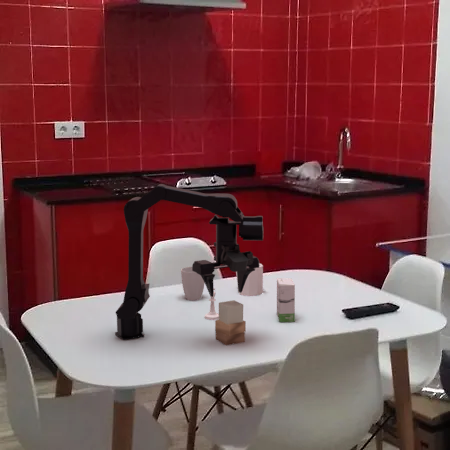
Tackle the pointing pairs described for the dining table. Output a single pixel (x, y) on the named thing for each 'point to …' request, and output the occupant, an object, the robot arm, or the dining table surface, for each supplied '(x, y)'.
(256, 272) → the mug
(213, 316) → the chess piece
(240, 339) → the tower base
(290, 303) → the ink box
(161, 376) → the dining table surface
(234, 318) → the cube
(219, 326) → the tower top
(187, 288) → the cup
